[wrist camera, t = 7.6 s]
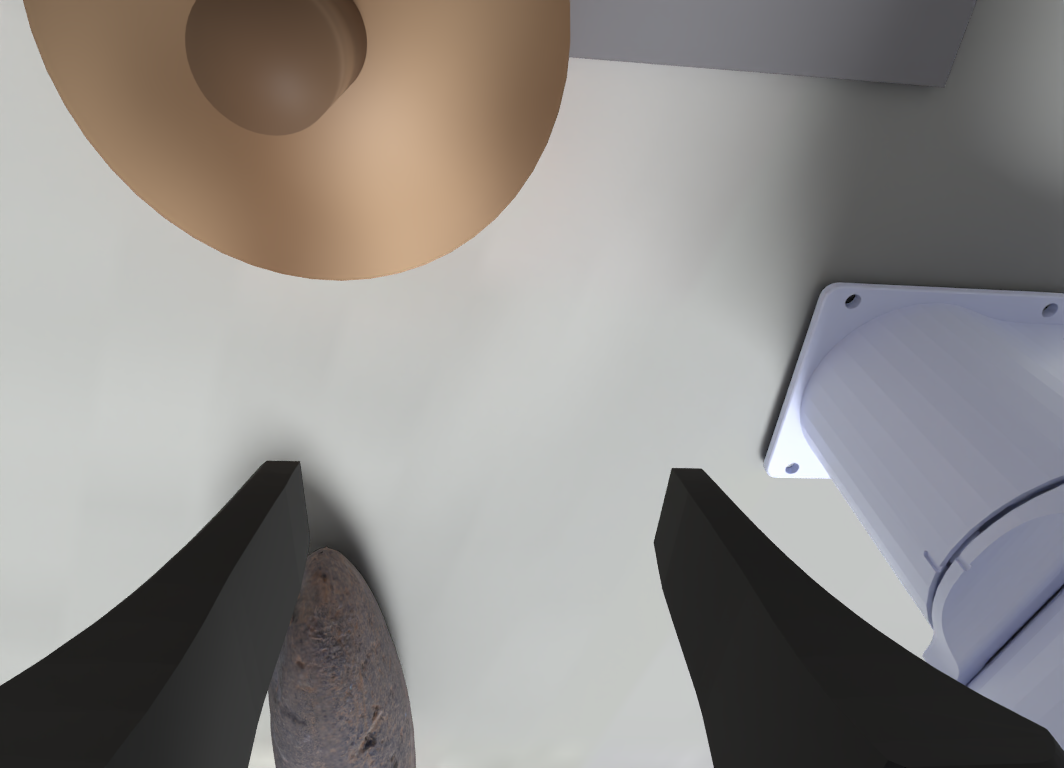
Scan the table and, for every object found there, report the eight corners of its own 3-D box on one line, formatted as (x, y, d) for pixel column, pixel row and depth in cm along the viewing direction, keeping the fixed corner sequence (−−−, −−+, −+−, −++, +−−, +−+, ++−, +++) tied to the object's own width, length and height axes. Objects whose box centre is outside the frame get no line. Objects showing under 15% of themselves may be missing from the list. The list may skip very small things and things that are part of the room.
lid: (615, -244, 13) (671, -324, 9) (526, 290, 18) (539, 375, 15) (-32, -394, 11) (-283, -565, 7) (91, 240, 17) (-17, 320, 13)
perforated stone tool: (265, 510, 26) (204, 672, 20) (403, 507, 26) (383, 665, 21) (317, 732, 34) (285, 894, 28) (423, 727, 34) (413, 886, 29)
